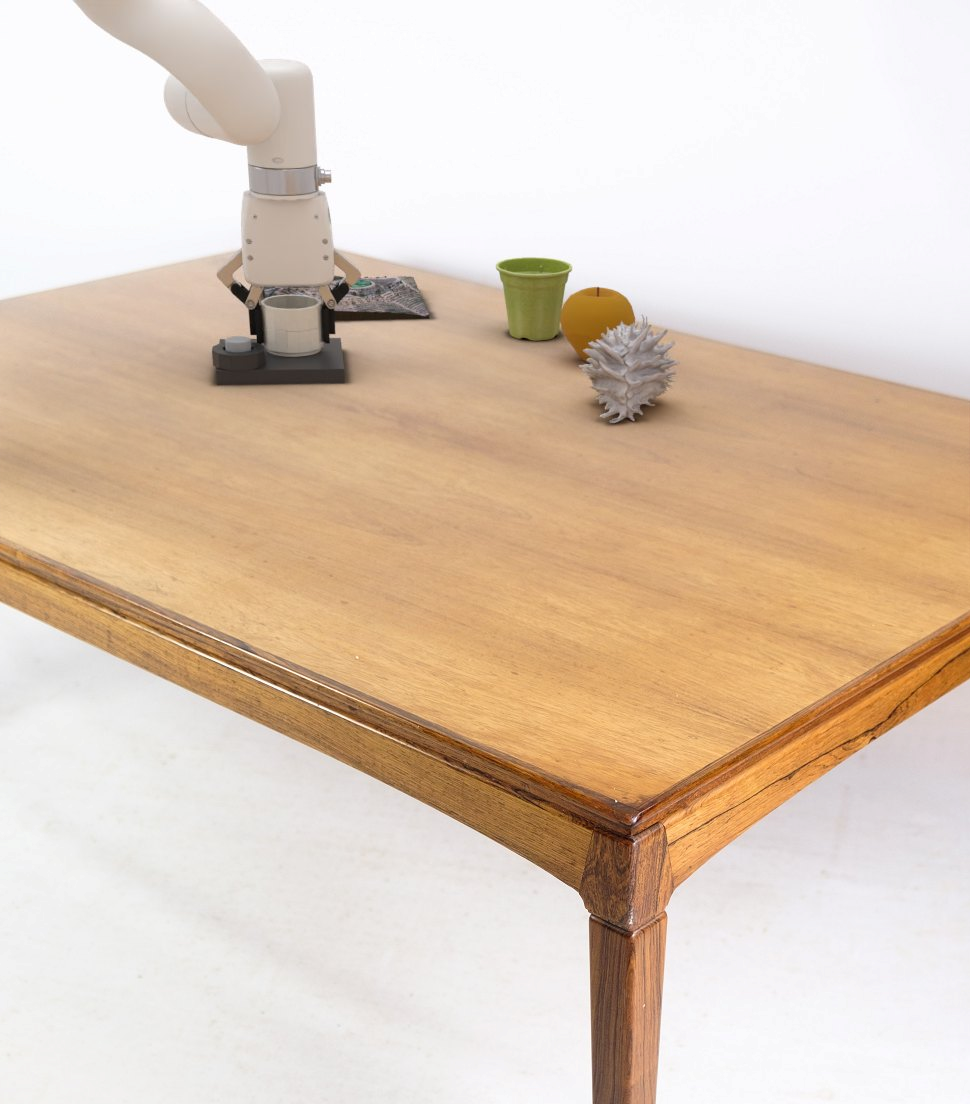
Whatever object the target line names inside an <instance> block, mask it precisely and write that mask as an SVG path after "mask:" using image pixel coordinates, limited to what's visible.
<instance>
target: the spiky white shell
mask: <svg viewBox="0 0 970 1104" xmlns="http://www.w3.org/2000/svg"><path fill="white" fill-rule="evenodd" d="M641 316H642V324H641V326H640V327H638V326H639V322H638V321H635V326H634V323H633V324H631V326H627V325H624V324H623V322H622V320H621V324H620V325H619V326H617V330H616V329H615V328H613V331H611V330H609V328H608V327H607V334H606V335H605V334H604V333H602V334H601V336H602V338H603V340H602V339H601V340H598V339H597V340H596V341H597V343H594V342H593V341H591V342H588V344H589V346H591V347H592V348H594V349H584V350H583V352H584V353H586V354H587V355H588V356H590V357H591V358H588V359H587V360H586V361H587V362H589V363H587V362H586V361H585V362H586V363H583V364H579V365H578V368H579V369H581V371H582V372H584V374H585V376H588V377H587V379H588V380H590V381H591V384H592V385H591V386H589V388H590V389H592V390H595V392H596V393H598V394H599V395H598V396H597V397H596V398H595V400H597V401H598V404H599V405H602V404H606V405H605V406H604V410H605V411H607V412H603V413H601V414H600V415H599V418H600V419H605V418H609V417H611V416H613V415H616V414H619V415H618V416H617V417H615V418H612V419H610V420H609V422H608V423H609V424H615V423H618V422H620V421H622V420H624V419H625V418H626V419H628V418H629V419H630V420H631V421H632V422H634V421H635V417H634V414H639V415H641V416H643V415H644V413H643V411H642V410H641V406H642V405H646V406H650V407H654V406H656V404H655V403H651V401H654V400H656V398H657V397H660V396H662V395H664V394H666V392H668V389H667V388H670V389H674V388H673V386H672V385H671V384H670V383H676V382H677V381H676V380H673V379H674V378H675V377H676V375H677V369H675V370H670V368H672V367H674V366H677V365H679V364H680V363H681V361H679V360H675V359H674V358H671V357H668V356H669V354H670V351H669V350H670V349H672V348H673V347H674V346H675V345H676V341H675V340H672V341H670V342H669V343H666V344H665V343H660V344H659V342H660V341H661V340H662V339H663V338H664V337H665V335H667V333H668V330H669V329H665V330H663V331H662V332H659V331H657V332H656V335H654V331H653V330H650V329H651V328H652V324H649V322H648V316H646V317H644V314H641Z"/></svg>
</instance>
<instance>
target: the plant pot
mask: <svg viewBox="0 0 970 1104" xmlns="http://www.w3.org/2000/svg"><path fill="white" fill-rule="evenodd" d="M495 269H496V271H498V273H499V279H500V281H501V283H502V287H503V295H504V301H505V309H506V316H507V324H508V330H509V335H510V336H511V337H512V338H515V339H517V340H521V339H523V338H525V339H527V340H528V341H534V342H536V341H537V342H538V341H549V340H552V339H554V338H555V336H558V335H559V332H560V327H561V323H560V316H561V311H562V308H563V305H564V297H565V290H566V284H567V283H568V280H569V277H570V276H569V275H570V273H571V272H573V271H572V270H573V265H572V264H571V263H569V262H567V261H565V260H561V259H556V258H550V257H536V256H535V257H534V256H533V257H532V256H531V257H529V256H525V257H513V258H508V259H503V260H500V261H498V262H497V263H496V264H495Z"/></svg>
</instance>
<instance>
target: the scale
mask: <svg viewBox="0 0 970 1104" xmlns="http://www.w3.org/2000/svg"><path fill="white" fill-rule="evenodd" d="M225 339H226V338H219V342H218V343H217V344H215V345H213V346H212V348H211V356H212V358H211V359H212V366H213V367H215V375H216V376H215V377H216V385H217V386H237V385H238V386H243V385H244V386H245V385H247V386H248V385H252V386H253V385H306V384H307V385H308V384H309V385H311V384H312V385H313V384H317V385H318V384H319V385H320V384H345V383H346V378H345V377H346V376H345V364H344V356H343V345H342V338H341V337H330V343H326V344H325V342H324V346H323V347H322V348H321V351H320V352H318V353H316V354H313V355H309V356H301V357H285V356H277V355H274V354H271V353H269V352H268V351H267V349H266V348H265V346H264V345H263V343H262V344H259V343H257V338H250V339H251V351H246V352H227V351H226V348H225Z"/></svg>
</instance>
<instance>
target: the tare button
mask: <svg viewBox="0 0 970 1104" xmlns="http://www.w3.org/2000/svg"><path fill="white" fill-rule="evenodd" d="M224 339H225V348H226V351H227V352H246V351H251V339H252V338H250V337H249V336H243V335H235V336H227V337H226V338H224Z"/></svg>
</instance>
